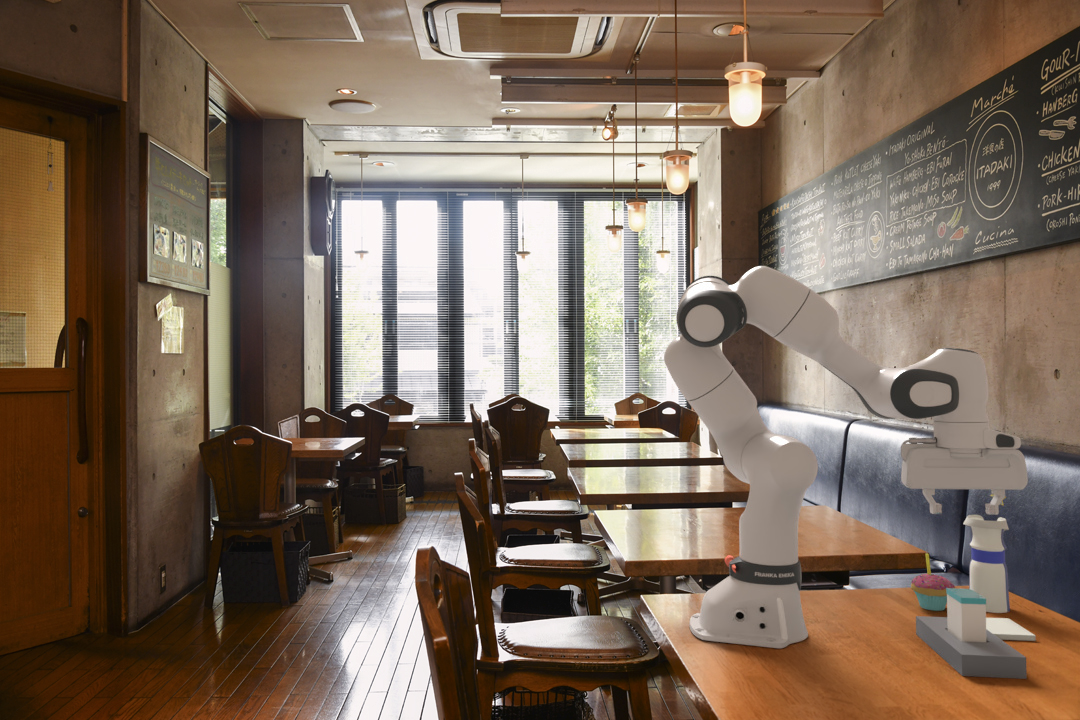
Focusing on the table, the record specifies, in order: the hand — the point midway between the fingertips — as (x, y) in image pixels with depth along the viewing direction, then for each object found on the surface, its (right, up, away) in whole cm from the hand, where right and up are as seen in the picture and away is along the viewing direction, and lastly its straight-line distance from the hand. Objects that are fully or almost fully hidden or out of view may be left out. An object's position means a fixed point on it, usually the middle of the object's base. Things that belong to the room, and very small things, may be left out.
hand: (963, 513), depth 131 cm
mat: (+13, -26, +12) cm, 31 cm away
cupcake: (+9, -26, +26) cm, 38 cm away
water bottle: (+21, -26, +27) cm, 43 cm away
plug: (0, -25, -1) cm, 25 cm away
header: (0, -25, -1) cm, 25 cm away
